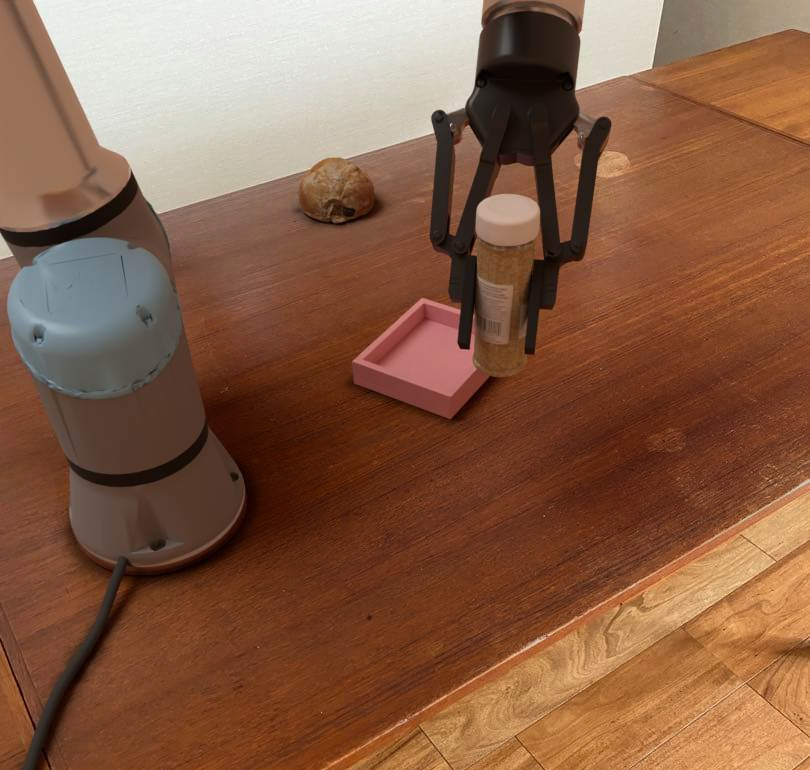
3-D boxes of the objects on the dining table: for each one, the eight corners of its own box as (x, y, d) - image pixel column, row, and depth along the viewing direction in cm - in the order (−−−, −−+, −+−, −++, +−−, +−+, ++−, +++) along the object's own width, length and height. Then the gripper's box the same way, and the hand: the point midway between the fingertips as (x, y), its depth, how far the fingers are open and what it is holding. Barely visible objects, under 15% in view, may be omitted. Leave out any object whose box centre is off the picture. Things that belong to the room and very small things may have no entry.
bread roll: (311, 250, 115) (314, 209, 108) (285, 189, 118) (286, 145, 111) (380, 233, 118) (387, 192, 110) (353, 174, 121) (358, 130, 113)
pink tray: (450, 419, 85) (450, 397, 83) (353, 383, 90) (351, 361, 88) (514, 349, 93) (516, 327, 91) (422, 319, 97) (421, 297, 95)
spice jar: (538, 367, 71) (554, 209, 61) (493, 386, 69) (502, 228, 59) (504, 340, 73) (514, 185, 63) (460, 358, 72) (463, 202, 62)
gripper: (643, 62, 67) (608, 366, 68) (421, 56, 69) (392, 348, 71) (657, 7, 59) (617, 349, 61) (408, 2, 62) (375, 330, 63)
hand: (496, 348), depth 66 cm, fingers closed on spice jar, 4 cm apart
